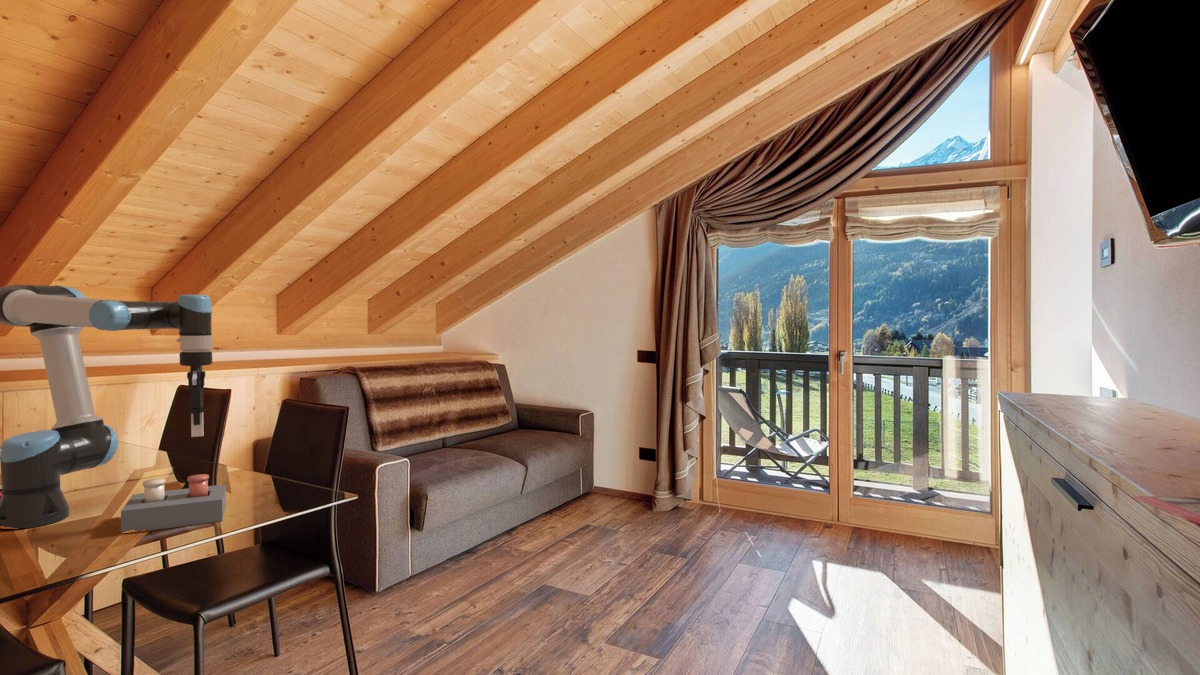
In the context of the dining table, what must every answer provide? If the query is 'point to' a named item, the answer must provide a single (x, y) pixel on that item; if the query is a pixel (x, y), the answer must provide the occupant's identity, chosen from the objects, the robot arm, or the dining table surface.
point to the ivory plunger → (154, 490)
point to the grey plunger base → (174, 510)
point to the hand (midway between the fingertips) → (197, 435)
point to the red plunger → (198, 485)
